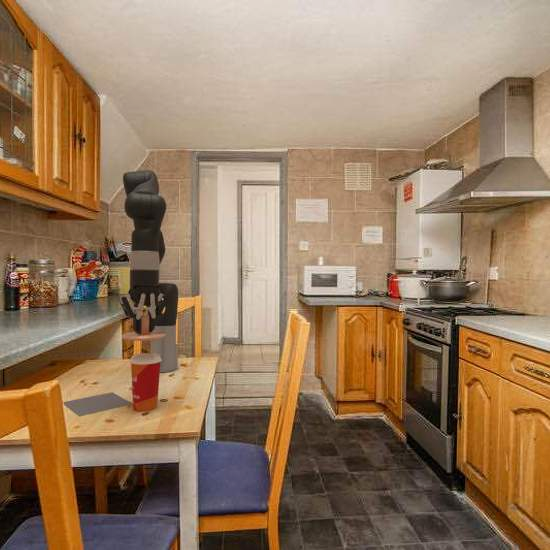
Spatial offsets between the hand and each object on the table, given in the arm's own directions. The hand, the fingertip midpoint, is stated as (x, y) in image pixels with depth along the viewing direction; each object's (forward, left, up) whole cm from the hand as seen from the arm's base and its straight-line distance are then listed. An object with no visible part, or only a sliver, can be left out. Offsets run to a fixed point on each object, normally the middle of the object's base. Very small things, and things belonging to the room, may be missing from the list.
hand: (143, 332), depth 105 cm
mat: (+7, -12, -21) cm, 25 cm away
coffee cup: (-1, 0, -21) cm, 21 cm away
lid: (0, 0, -1) cm, 1 cm away
